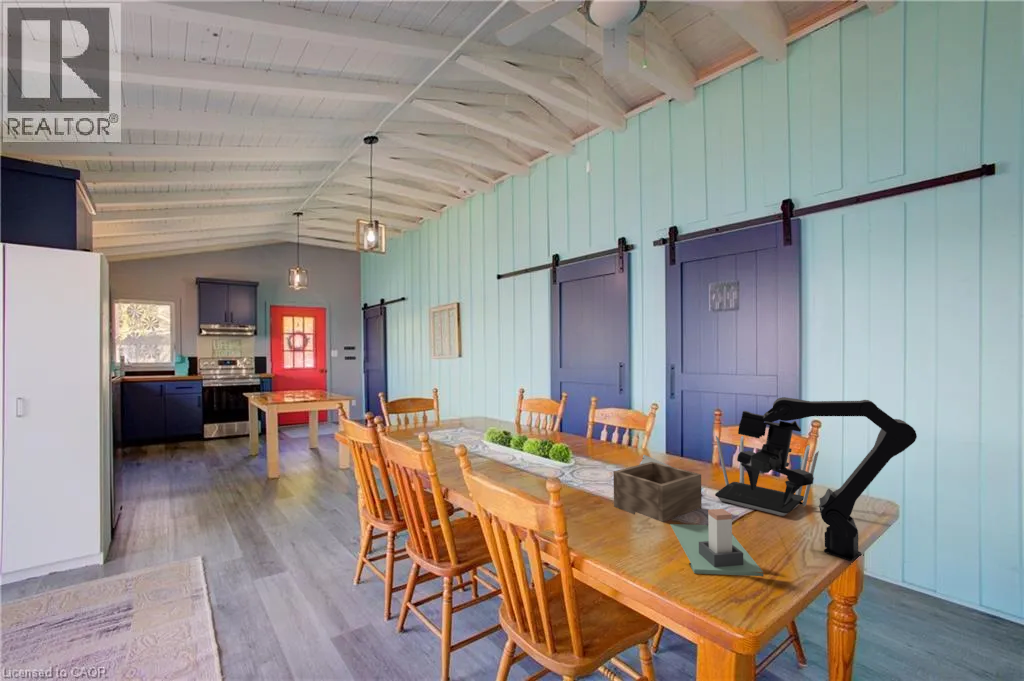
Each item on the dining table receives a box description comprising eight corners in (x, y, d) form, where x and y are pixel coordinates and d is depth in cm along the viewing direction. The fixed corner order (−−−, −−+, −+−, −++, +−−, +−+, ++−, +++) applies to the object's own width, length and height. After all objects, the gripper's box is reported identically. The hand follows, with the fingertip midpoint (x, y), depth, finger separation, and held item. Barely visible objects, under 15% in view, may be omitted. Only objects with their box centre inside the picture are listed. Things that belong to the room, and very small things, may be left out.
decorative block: (649, 470, 205) (649, 453, 205) (692, 492, 176) (692, 472, 176) (632, 472, 203) (632, 454, 203) (674, 494, 174) (673, 473, 174)
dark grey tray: (726, 551, 126) (726, 539, 126) (743, 564, 118) (743, 552, 118) (698, 553, 125) (698, 541, 125) (714, 567, 117) (714, 555, 117)
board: (670, 527, 144) (669, 523, 144) (725, 528, 142) (725, 525, 142) (694, 573, 116) (694, 569, 116) (763, 576, 115) (763, 572, 115)
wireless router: (699, 497, 170) (698, 441, 170) (728, 483, 186) (727, 431, 185) (806, 524, 145) (805, 458, 145) (828, 505, 161) (828, 445, 160)
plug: (723, 554, 124) (722, 508, 124) (732, 562, 120) (731, 514, 120) (708, 555, 123) (708, 509, 123) (717, 563, 119) (716, 515, 119)
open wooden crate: (701, 510, 157) (701, 474, 157) (662, 525, 146) (662, 486, 146) (652, 494, 174) (652, 461, 174) (613, 506, 162) (613, 471, 162)
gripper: (730, 433, 136) (721, 486, 137) (796, 456, 120) (785, 515, 122) (753, 432, 142) (744, 482, 143) (819, 453, 126) (808, 510, 127)
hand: (768, 496), depth 134 cm, fingers open, 9 cm apart
